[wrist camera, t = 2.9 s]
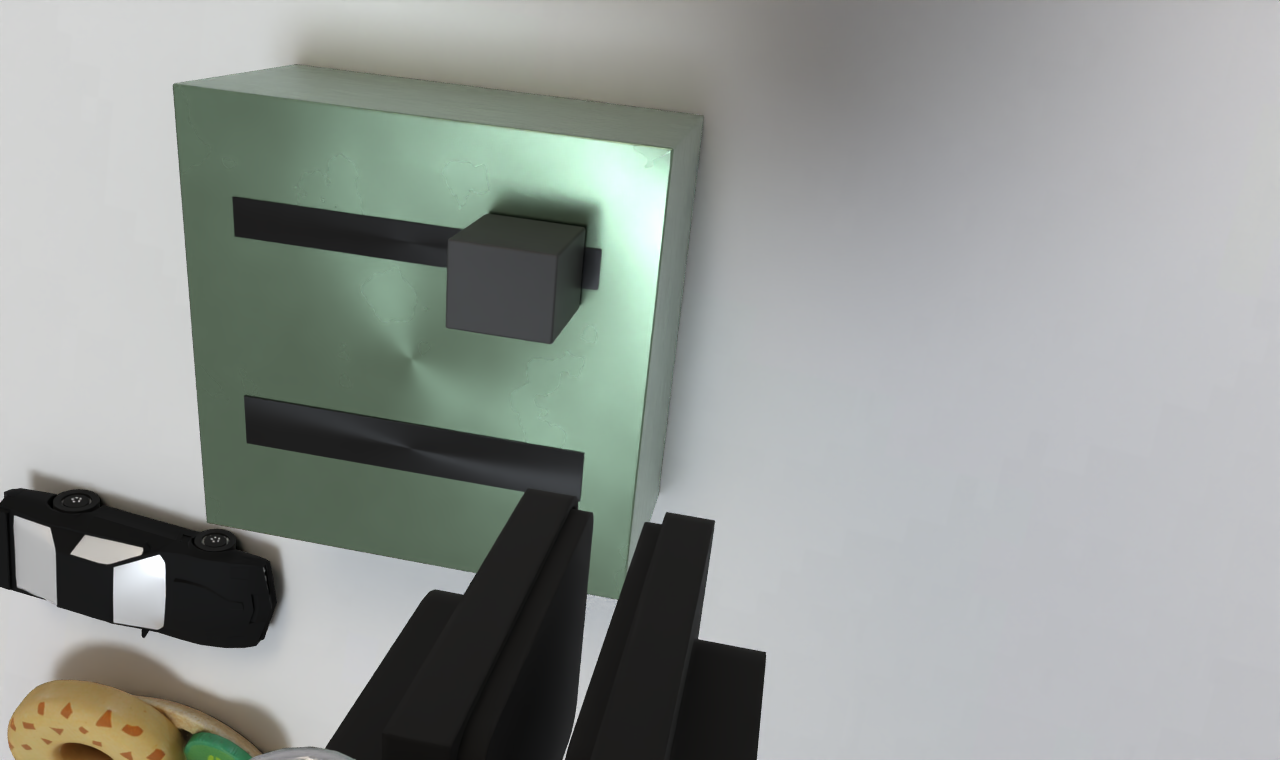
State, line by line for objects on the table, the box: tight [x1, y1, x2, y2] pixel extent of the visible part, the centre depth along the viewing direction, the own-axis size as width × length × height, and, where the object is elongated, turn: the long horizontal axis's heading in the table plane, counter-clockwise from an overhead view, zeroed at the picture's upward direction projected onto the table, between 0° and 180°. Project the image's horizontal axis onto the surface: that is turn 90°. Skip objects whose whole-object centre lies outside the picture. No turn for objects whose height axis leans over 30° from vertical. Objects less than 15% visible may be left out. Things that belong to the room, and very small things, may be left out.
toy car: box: [0, 488, 277, 648], centre depth 35 cm, size 10×4×3 cm, turn 78°
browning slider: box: [446, 214, 585, 344], centre depth 22 cm, size 2×2×3 cm
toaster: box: [173, 64, 704, 600], centre depth 28 cm, size 12×12×6 cm
